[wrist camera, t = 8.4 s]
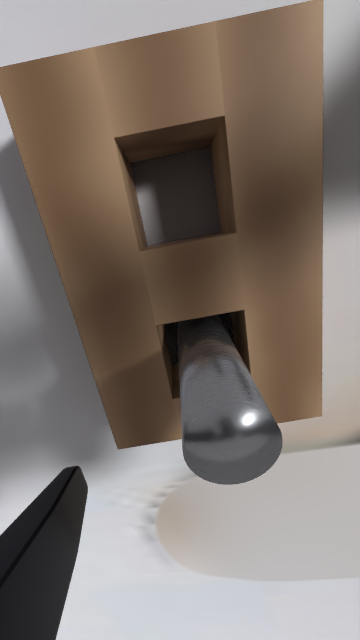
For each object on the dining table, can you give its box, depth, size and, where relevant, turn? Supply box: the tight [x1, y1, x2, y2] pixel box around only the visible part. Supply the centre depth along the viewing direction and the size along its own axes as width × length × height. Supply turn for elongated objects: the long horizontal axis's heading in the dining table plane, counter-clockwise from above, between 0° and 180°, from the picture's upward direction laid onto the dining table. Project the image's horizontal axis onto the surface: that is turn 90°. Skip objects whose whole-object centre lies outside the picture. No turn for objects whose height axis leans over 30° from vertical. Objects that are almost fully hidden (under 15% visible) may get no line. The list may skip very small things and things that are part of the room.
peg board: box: [0, 0, 323, 449], centre depth 14 cm, size 12×18×4 cm, turn 10°
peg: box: [177, 315, 282, 484], centre depth 13 cm, size 3×3×10 cm
